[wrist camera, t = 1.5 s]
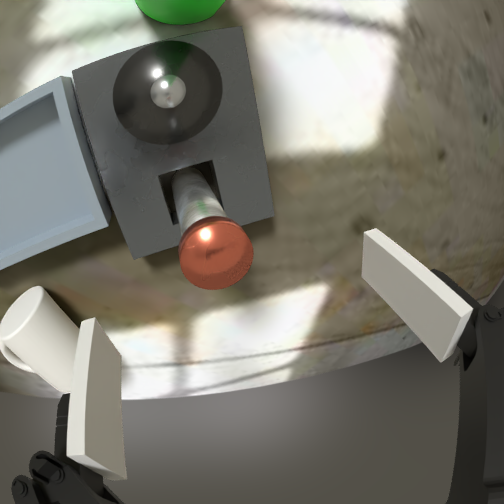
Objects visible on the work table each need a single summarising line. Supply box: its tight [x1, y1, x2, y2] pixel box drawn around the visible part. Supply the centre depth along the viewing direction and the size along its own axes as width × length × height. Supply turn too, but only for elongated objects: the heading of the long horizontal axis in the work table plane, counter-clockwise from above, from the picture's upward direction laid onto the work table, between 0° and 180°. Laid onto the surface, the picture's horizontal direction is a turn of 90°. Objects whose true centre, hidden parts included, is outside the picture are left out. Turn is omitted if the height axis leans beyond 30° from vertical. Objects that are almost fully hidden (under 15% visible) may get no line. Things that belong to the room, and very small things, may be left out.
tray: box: [0, 76, 112, 270], centre depth 20 cm, size 18×14×3 cm
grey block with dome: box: [72, 26, 274, 260], centre depth 23 cm, size 14×18×7 cm
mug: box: [0, 286, 80, 392], centre depth 27 cm, size 12×10×8 cm
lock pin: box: [172, 167, 253, 290], centre depth 22 cm, size 4×4×14 cm
